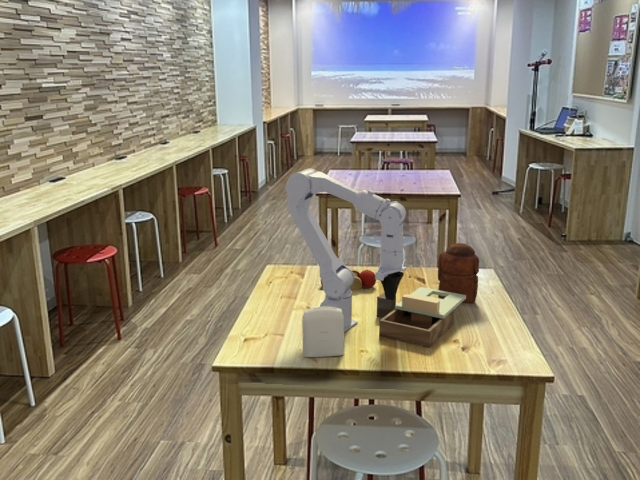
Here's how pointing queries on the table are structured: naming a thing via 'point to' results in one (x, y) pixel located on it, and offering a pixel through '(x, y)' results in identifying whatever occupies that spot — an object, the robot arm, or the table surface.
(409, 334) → the brown wooden box
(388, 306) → the dark brown block
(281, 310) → the table surface
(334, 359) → the table surface
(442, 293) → the lid
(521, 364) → the table surface
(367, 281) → the kendama
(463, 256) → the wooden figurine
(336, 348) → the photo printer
